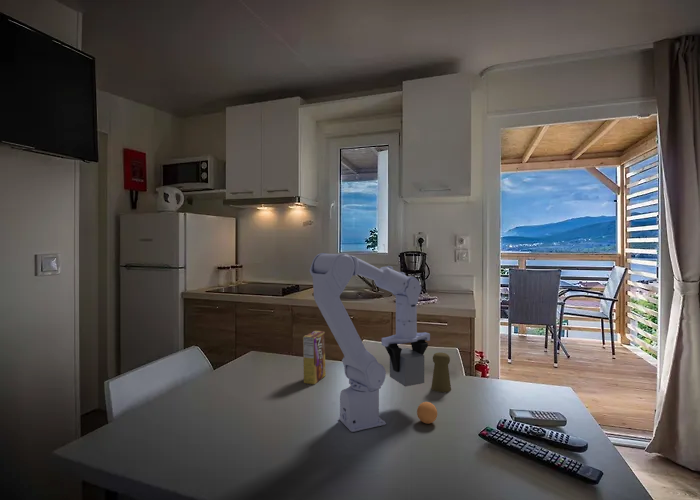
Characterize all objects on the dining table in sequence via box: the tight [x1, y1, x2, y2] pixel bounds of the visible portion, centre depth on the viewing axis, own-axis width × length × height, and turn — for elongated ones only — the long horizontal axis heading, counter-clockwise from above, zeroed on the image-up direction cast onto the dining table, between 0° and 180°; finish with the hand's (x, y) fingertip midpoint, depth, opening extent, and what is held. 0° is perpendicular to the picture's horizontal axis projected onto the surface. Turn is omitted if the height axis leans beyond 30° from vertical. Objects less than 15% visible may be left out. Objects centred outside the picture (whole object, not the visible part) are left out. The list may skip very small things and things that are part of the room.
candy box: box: [302, 330, 327, 385], centre depth 126 cm, size 9×4×15 cm, turn 160°
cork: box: [430, 352, 452, 393], centre depth 118 cm, size 6×6×11 cm
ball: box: [416, 401, 438, 425], centre depth 95 cm, size 5×5×5 cm
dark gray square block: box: [389, 347, 425, 388], centre depth 104 cm, size 6×8×7 cm
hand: (406, 369), depth 105 cm, fingers closed on dark gray square block, 6 cm apart
